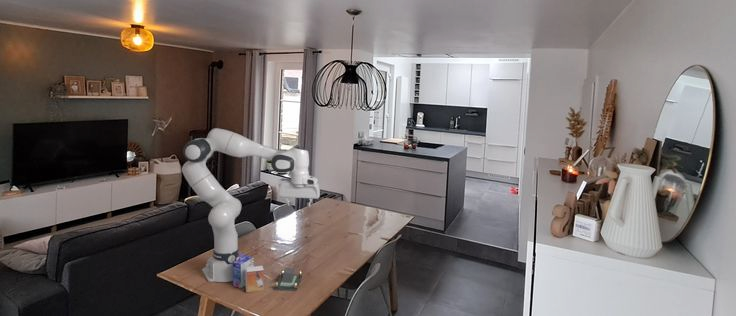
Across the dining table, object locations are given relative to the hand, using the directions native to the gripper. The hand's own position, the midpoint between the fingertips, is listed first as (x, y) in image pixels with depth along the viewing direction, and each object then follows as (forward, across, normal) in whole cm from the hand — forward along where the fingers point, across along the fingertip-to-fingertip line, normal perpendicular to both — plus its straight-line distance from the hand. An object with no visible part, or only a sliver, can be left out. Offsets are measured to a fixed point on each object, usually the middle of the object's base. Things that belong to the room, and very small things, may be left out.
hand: (299, 206), depth 207 cm
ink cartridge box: (+37, -25, -10) cm, 46 cm away
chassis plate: (+37, -3, -9) cm, 38 cm away
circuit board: (+36, -3, -9) cm, 37 cm away
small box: (+37, -18, -16) cm, 44 cm away
